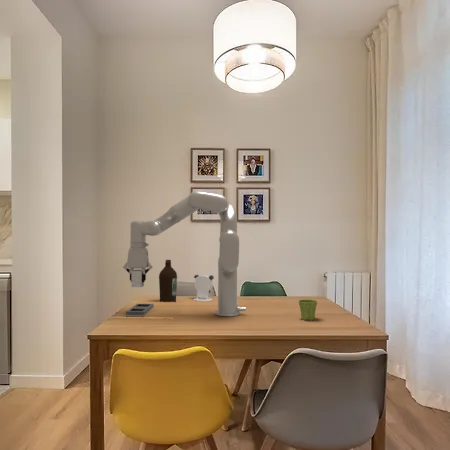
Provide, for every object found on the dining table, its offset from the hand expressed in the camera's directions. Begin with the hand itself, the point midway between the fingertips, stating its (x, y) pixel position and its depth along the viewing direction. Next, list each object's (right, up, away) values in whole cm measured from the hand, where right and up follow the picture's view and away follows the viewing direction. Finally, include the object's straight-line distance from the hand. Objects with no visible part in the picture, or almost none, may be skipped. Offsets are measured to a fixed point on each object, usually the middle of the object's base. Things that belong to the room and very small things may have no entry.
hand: (137, 281), depth 205 cm
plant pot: (+84, -17, -8) cm, 86 cm away
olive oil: (+10, -17, +35) cm, 41 cm away
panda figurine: (+31, -18, +45) cm, 57 cm away
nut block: (0, -2, 0) cm, 2 cm away
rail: (0, -17, +6) cm, 18 cm away
